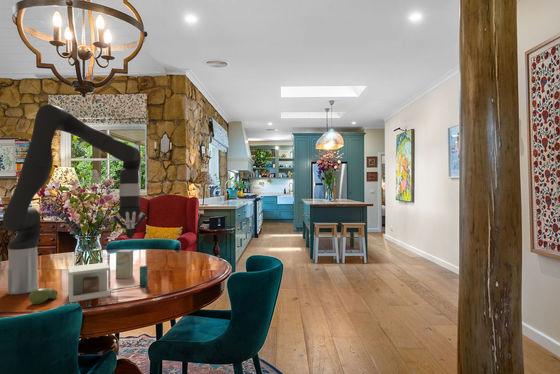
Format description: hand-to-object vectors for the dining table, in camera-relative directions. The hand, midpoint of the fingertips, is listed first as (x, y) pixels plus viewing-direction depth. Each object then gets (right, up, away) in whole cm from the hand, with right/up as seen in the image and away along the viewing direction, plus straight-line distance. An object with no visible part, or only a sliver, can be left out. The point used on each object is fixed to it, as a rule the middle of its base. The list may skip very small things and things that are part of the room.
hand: (130, 238), depth 138 cm
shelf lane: (-12, -21, -8) cm, 25 cm away
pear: (-25, -21, -14) cm, 35 cm away
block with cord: (-4, -20, -3) cm, 21 cm away
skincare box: (-10, -21, +18) cm, 30 cm away
